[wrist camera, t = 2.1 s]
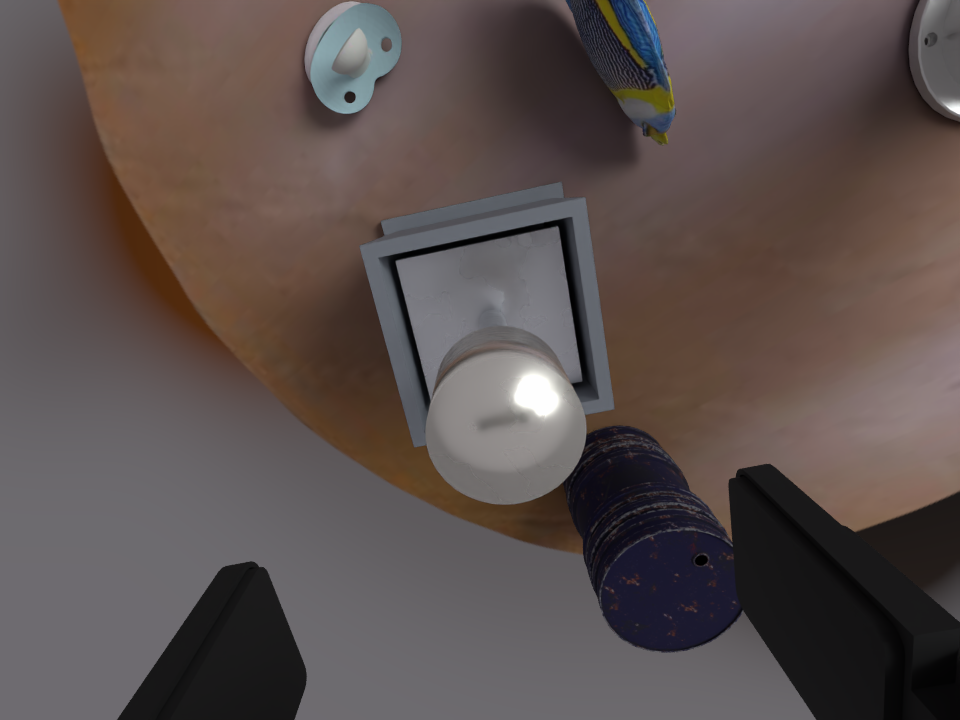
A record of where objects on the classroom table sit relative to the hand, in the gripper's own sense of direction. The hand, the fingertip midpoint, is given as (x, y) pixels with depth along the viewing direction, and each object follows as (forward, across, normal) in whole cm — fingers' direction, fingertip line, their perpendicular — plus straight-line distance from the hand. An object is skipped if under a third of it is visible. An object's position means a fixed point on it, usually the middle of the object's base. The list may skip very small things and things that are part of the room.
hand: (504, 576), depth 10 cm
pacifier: (+33, +6, -19) cm, 39 cm away
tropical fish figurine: (+33, -12, -15) cm, 38 cm away
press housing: (+33, -1, 0) cm, 33 cm away
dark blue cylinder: (+33, -9, +19) cm, 39 cm away
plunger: (+22, -1, 0) cm, 22 cm away
